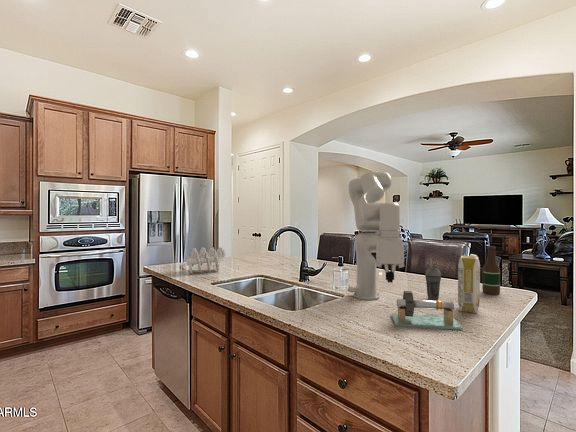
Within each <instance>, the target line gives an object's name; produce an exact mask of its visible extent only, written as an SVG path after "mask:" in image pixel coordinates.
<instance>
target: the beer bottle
mask: <svg viewBox="0 0 576 432" xmlns="http://www.w3.org/2000/svg"><path fill="white" fill-rule="evenodd" d="M496 249H497V248H496V246H494V245H489V246H487V255H486V256H487V257H486V258H487V259H486V262H485V263H484V264H483V266H482V293H484V294H486V295H491V296H492V295H494V296H496V295H497V296H498V295H500V293H501V268H500V265H499V264H498V262H497V257H496V255H497V254H496Z"/></svg>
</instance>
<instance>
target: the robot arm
mask: <svg viewBox="0 0 576 432" xmlns="http://www.w3.org/2000/svg"><path fill="white" fill-rule="evenodd" d="M391 186H392V178H391V175H390V174H389V173H388V172H386V171H377V172H376V171H375V172H372V171H367V172H363V174H361V175H360V177H359V178H353V179H351V180H350V181H349V183H348V195H349V198H350V201H351V202H352V205H353V211H354V220H355V227H356V229H357V230H358V231H360V232H362V233H358V234H356V235H355V238H354V247H355V253H356V254H355V255H356V285H355V286H354V287H347V292H350V293H353V297H354V298H355V299H360V300H365V301H367V300H368V301H373V300H377V299H380V296H381V295H380V293H378V292H377V267H378V268H382V270H384V271H385V280H386V281H387V283H391V284H393V281H395V272H396V271H397V270H398V269H401V268H404V267H405V251H404V250H405V249H404V242H403V238H401V237H400V235H401V230H400V229H401V227H400V222H401V221H400V218H401V217H400V216H401V215H400V211H401V210H400V209H401V208H400V204H398V203H397V202H384V203H383V202H379V201H381V200H382V199H383V198H384V195H385V193H386V192H387V191H388V190H390V188H391ZM372 253H375V257H374V255H372ZM389 265H391V267H390V269H389Z"/></svg>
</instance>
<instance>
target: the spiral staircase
mask: <svg viewBox="0 0 576 432" xmlns="http://www.w3.org/2000/svg"><path fill="white" fill-rule="evenodd" d="M225 257H226V250H225V249H224V248H223V246H221V247H220V246H218V248H217V249H214V247H210V248H209V249H208V251H206V248H205V247H201V248H200V251H198V250H197V248H196V247H195V248H194V247H193V249H191V252H190V256H189V255H187V259H186V261H185V264H186V266H189V273H190V274H191V273H192V274H193V267H194V265H195V266H196V265H197V266H198V271H199V273H200V272H201V273H202V266H203V264H206V268H207V271H208V273H211V266H212V263H215V265H214V266H215V269H216V271H217V272H219V270H220V263H221V262H223V261H224V259H225Z"/></svg>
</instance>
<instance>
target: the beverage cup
mask: <svg viewBox="0 0 576 432" xmlns="http://www.w3.org/2000/svg"><path fill="white" fill-rule="evenodd" d="M429 261H430V267H429V268H427V269H426V271H425V272H424V273H425V274H424V276H425V280H426V281H425V283H426V294H427V300H429V301H436V300H439V297H440V285H441V280H442V276H443V275H442V273H441V270H440V269H439V268H438V267H437V266H436V267H435V266H433V260H432V257H429Z"/></svg>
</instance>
